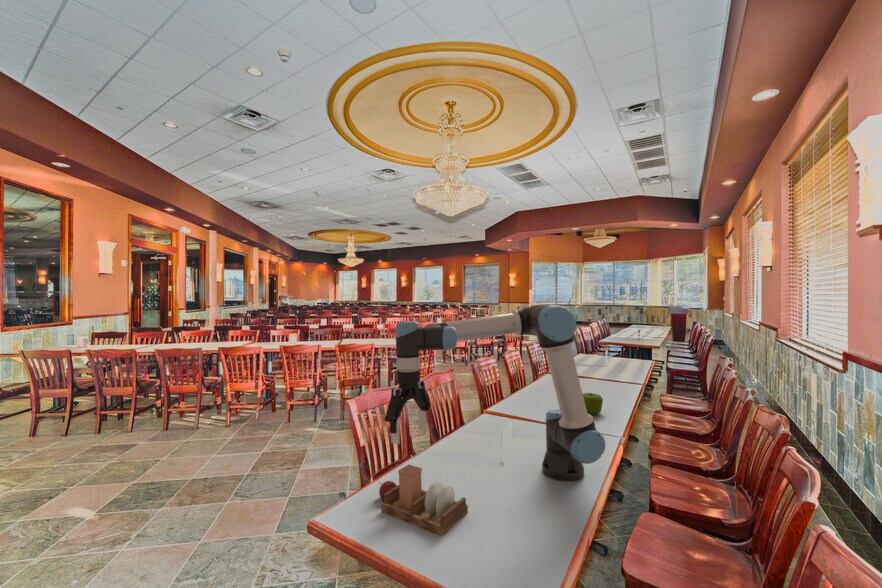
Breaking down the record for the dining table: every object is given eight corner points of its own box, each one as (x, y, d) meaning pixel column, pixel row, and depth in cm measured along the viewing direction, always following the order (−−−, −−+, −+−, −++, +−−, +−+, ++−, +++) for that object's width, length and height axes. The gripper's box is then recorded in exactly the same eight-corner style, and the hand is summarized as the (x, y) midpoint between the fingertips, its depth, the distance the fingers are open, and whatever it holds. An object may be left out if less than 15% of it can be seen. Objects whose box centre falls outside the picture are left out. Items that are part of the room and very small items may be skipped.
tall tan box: (409, 497, 127) (408, 464, 127) (422, 502, 124) (421, 468, 124) (398, 505, 123) (398, 470, 123) (411, 510, 120) (411, 474, 120)
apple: (577, 409, 225) (577, 390, 225) (599, 410, 223) (599, 390, 223) (582, 416, 212) (581, 395, 213) (605, 416, 211) (605, 396, 211)
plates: (454, 510, 119) (454, 481, 119) (437, 524, 112) (437, 493, 112) (442, 505, 122) (441, 477, 122) (424, 519, 114) (424, 489, 114)
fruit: (391, 499, 132) (383, 475, 135) (402, 494, 129) (393, 471, 132) (378, 506, 128) (370, 482, 130) (389, 502, 125) (380, 477, 127)
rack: (467, 512, 119) (467, 496, 119) (442, 536, 108) (441, 518, 108) (409, 492, 132) (409, 478, 132) (381, 511, 121) (381, 495, 121)
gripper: (422, 362, 136) (423, 423, 136) (372, 375, 116) (373, 446, 115) (440, 364, 132) (441, 427, 132) (390, 378, 111) (392, 452, 111)
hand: (409, 436), depth 123 cm, fingers open, 13 cm apart
